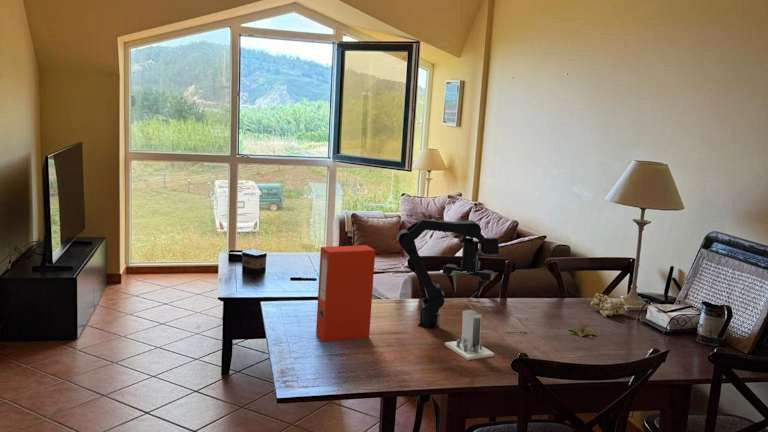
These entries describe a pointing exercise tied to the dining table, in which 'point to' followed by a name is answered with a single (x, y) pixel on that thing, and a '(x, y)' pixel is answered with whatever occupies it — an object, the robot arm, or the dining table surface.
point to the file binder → (345, 292)
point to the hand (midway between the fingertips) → (466, 294)
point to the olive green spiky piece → (582, 331)
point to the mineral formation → (608, 305)
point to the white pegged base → (467, 353)
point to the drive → (471, 329)
